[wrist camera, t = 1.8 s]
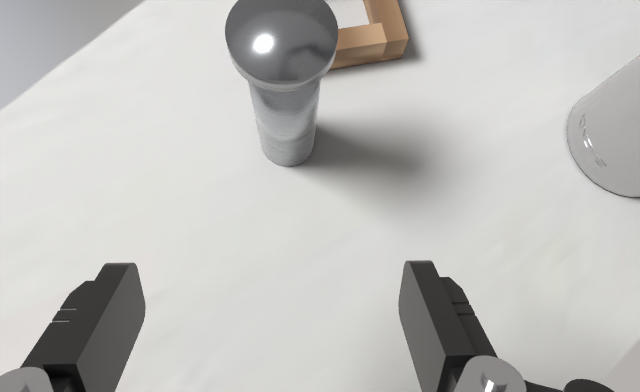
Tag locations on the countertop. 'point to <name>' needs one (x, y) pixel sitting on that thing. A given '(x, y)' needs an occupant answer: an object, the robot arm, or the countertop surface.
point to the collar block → (373, 36)
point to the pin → (283, 68)
